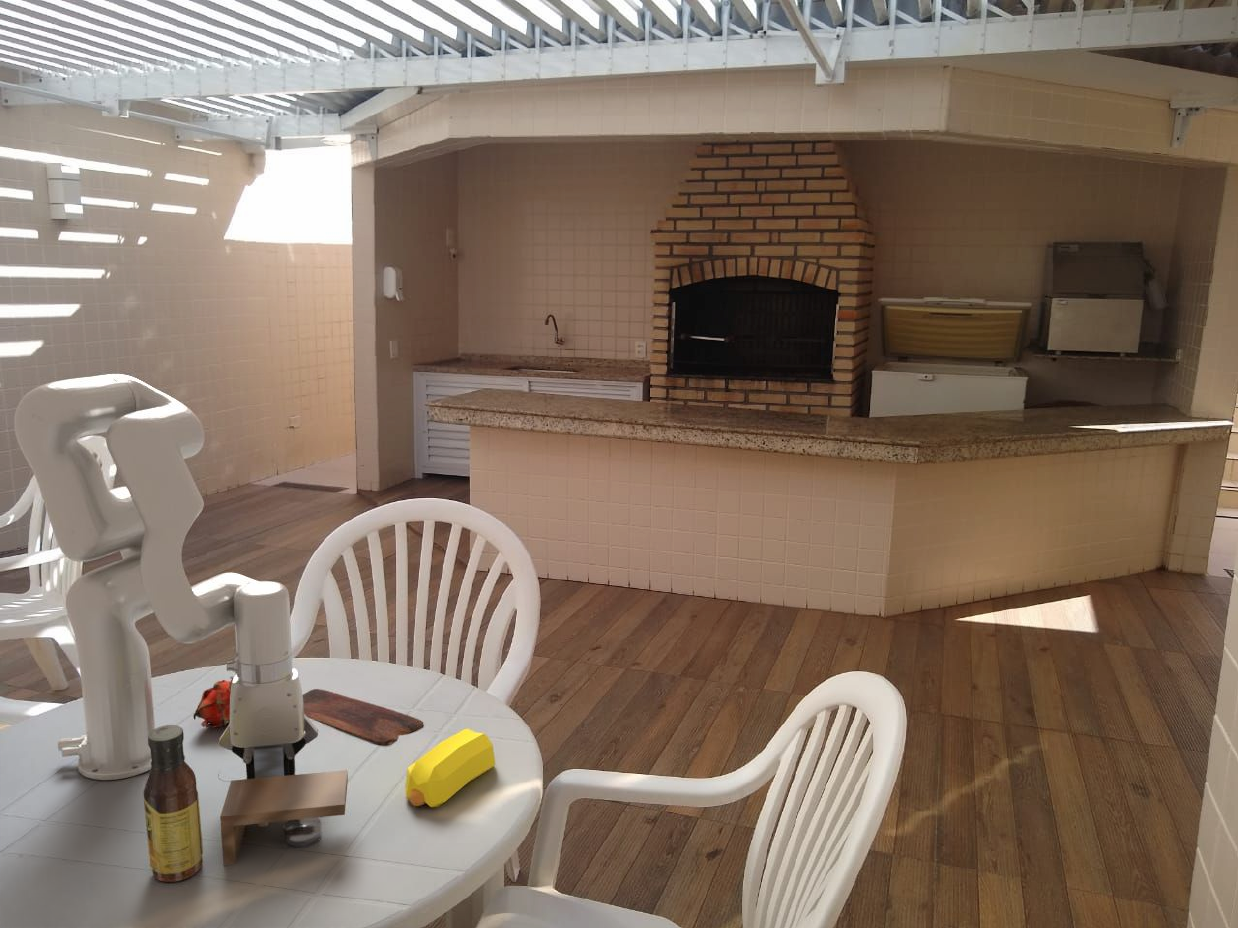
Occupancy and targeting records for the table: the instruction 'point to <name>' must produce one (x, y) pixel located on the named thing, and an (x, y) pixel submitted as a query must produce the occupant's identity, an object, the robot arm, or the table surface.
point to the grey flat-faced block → (269, 763)
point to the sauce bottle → (172, 808)
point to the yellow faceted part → (448, 768)
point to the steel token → (301, 832)
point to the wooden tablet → (358, 717)
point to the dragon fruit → (215, 705)
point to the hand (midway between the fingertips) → (271, 780)
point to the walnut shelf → (279, 803)
